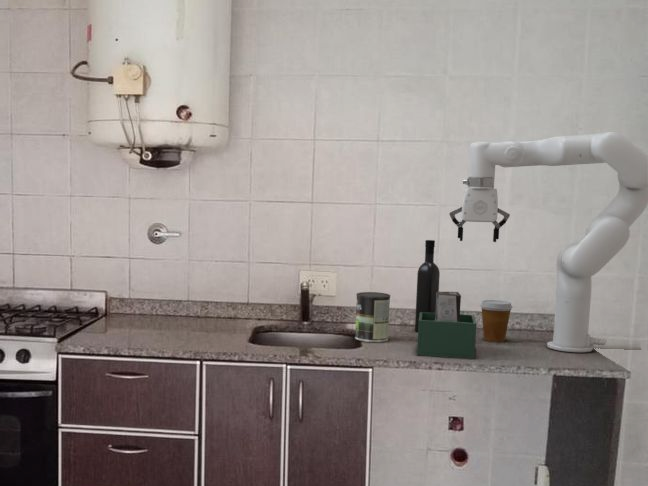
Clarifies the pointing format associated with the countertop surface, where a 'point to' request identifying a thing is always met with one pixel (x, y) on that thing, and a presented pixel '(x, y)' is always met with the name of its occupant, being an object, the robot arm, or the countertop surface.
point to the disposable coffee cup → (495, 319)
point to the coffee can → (372, 317)
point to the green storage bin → (446, 336)
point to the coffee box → (448, 306)
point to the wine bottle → (427, 283)
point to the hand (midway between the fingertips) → (477, 241)
